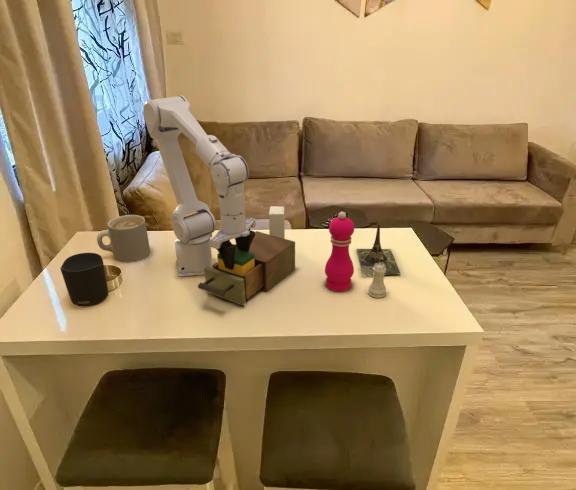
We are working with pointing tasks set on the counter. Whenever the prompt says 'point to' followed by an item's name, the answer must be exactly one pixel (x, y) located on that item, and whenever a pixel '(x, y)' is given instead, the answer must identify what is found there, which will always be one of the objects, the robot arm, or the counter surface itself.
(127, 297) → the counter surface
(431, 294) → the counter surface
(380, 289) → the rook chess piece
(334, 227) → the pepper mill
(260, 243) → the cabinet
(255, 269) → the drawer
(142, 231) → the coffee mug
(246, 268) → the sponge
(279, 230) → the cosmetic box
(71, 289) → the black speaker
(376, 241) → the eiffel tower figurine
